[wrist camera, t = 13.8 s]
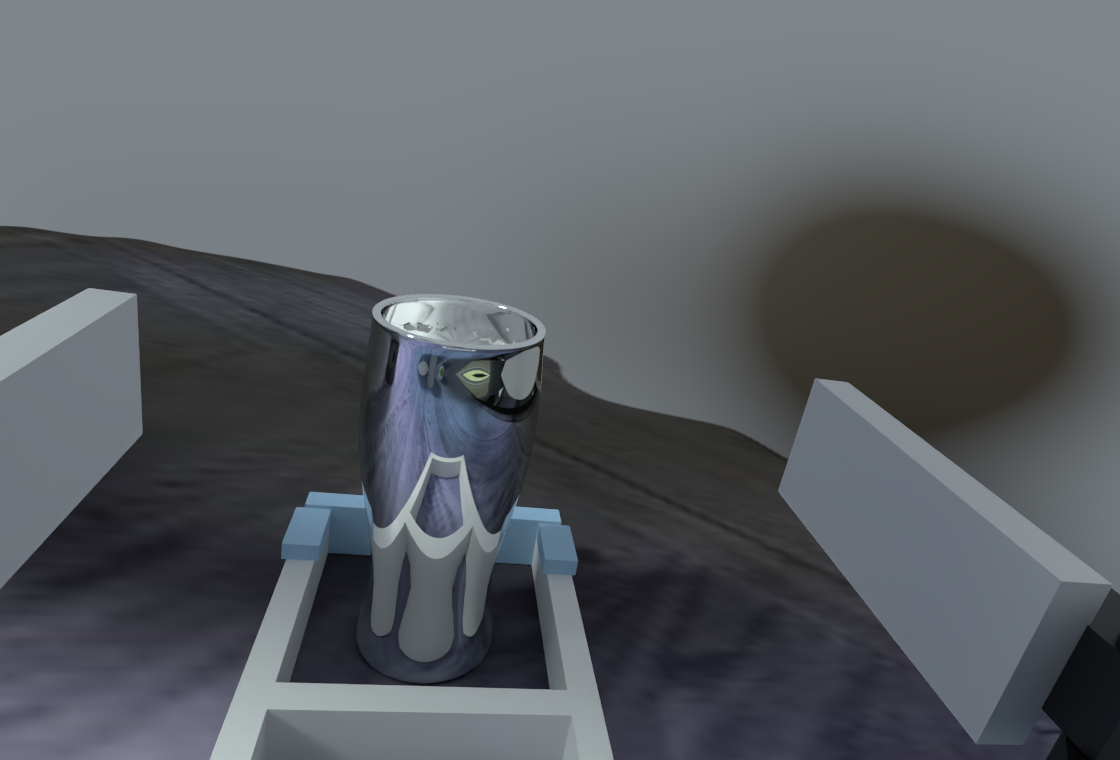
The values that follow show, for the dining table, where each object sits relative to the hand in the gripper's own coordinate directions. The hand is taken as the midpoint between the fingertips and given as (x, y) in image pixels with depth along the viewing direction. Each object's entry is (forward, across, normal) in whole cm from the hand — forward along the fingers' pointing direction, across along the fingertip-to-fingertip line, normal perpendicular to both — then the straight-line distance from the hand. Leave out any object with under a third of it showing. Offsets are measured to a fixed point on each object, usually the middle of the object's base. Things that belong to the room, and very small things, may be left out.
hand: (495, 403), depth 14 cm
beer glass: (+13, 0, -18) cm, 22 cm away
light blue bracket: (+17, 0, -17) cm, 24 cm away
